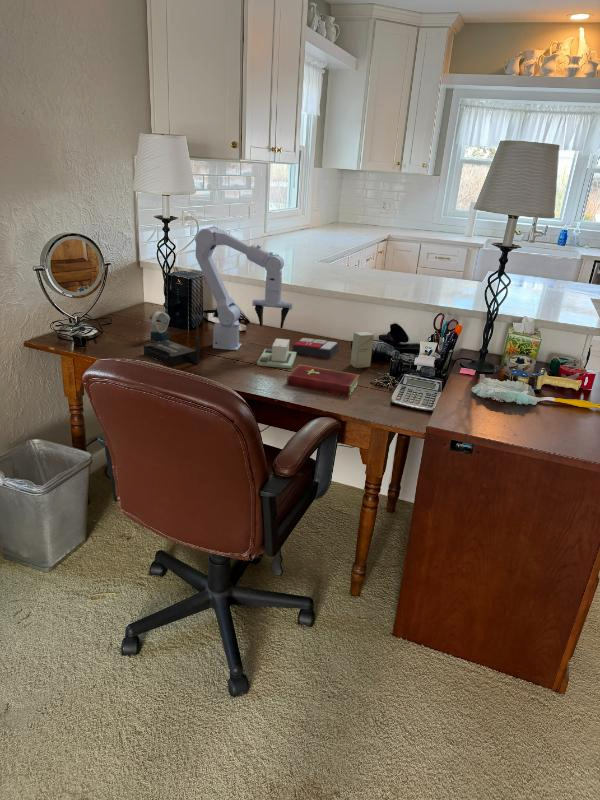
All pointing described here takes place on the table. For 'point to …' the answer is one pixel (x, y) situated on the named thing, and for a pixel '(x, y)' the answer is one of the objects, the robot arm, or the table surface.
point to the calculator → (316, 348)
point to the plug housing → (280, 350)
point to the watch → (161, 334)
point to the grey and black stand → (173, 351)
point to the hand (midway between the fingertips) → (271, 326)
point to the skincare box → (362, 349)
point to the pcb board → (267, 357)
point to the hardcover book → (322, 380)
